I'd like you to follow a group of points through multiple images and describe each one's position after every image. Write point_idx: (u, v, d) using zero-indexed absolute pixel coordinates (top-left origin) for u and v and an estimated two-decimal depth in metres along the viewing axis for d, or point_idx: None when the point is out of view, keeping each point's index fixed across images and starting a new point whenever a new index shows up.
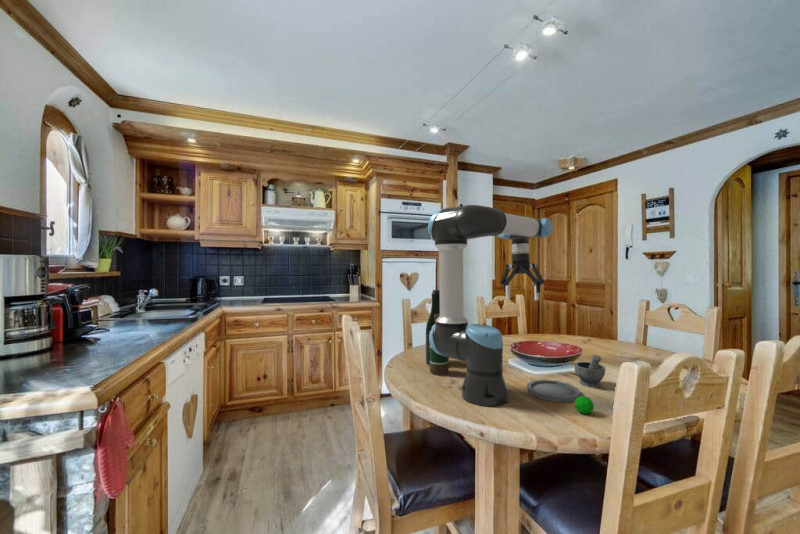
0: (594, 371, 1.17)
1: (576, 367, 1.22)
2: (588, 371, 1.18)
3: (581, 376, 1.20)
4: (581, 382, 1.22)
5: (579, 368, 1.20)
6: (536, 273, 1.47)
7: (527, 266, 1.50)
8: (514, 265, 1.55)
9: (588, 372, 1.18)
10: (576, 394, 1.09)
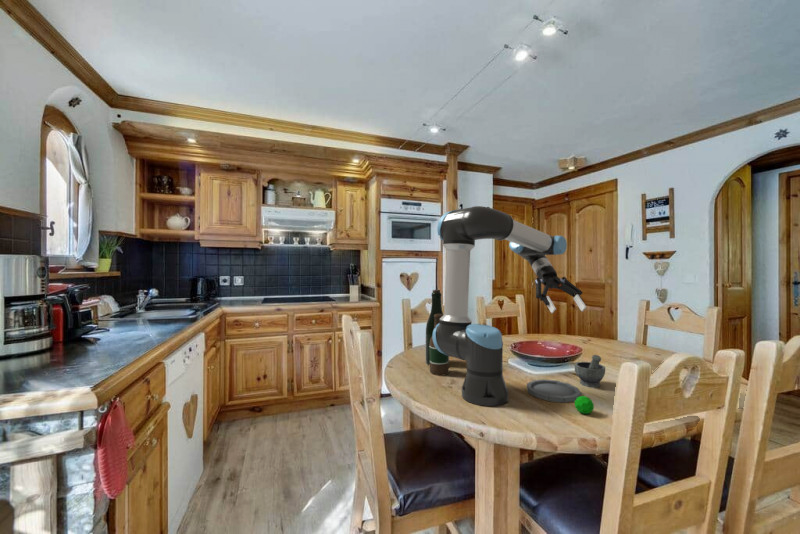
0: (594, 371, 1.17)
1: (576, 367, 1.22)
2: (588, 371, 1.18)
3: (581, 376, 1.20)
4: (581, 382, 1.22)
5: (579, 368, 1.20)
6: (571, 284, 1.40)
7: (559, 279, 1.41)
8: (546, 278, 1.40)
9: (588, 372, 1.18)
10: (576, 394, 1.09)
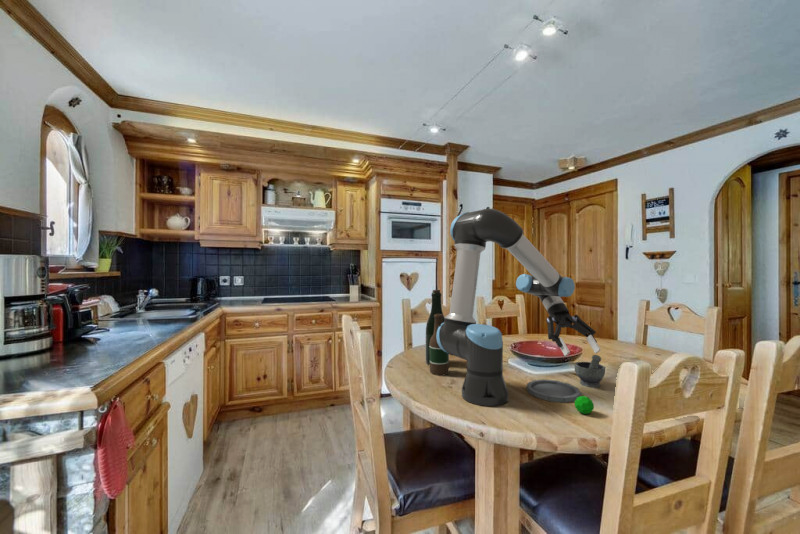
0: (594, 371, 1.17)
1: (576, 367, 1.22)
2: (588, 371, 1.18)
3: (581, 376, 1.20)
4: (581, 382, 1.22)
5: (579, 368, 1.20)
6: (584, 323, 1.35)
7: (571, 317, 1.36)
8: (558, 317, 1.35)
9: (588, 372, 1.18)
10: (576, 394, 1.09)
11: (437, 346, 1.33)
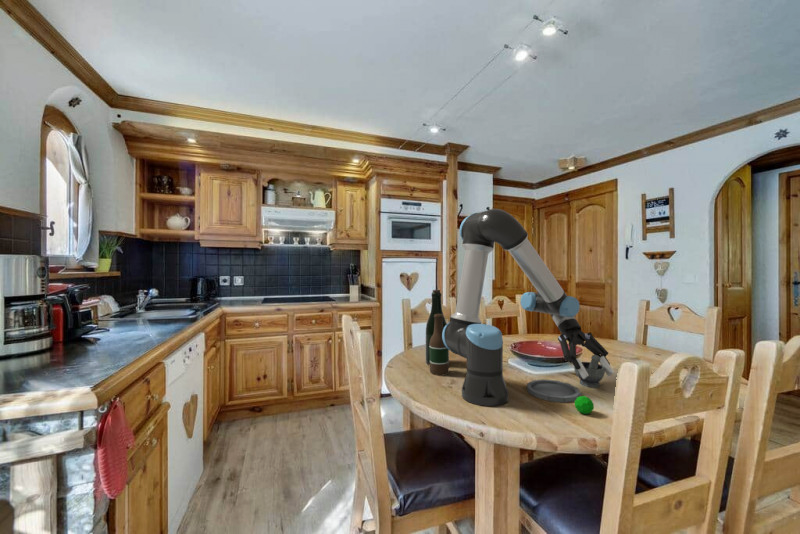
0: (593, 371, 1.17)
1: None
2: (587, 371, 1.18)
3: (580, 376, 1.20)
4: (581, 382, 1.22)
5: None
6: (597, 342, 1.26)
7: (584, 334, 1.28)
8: (569, 333, 1.27)
9: (588, 372, 1.18)
10: (576, 394, 1.09)
11: (437, 346, 1.33)
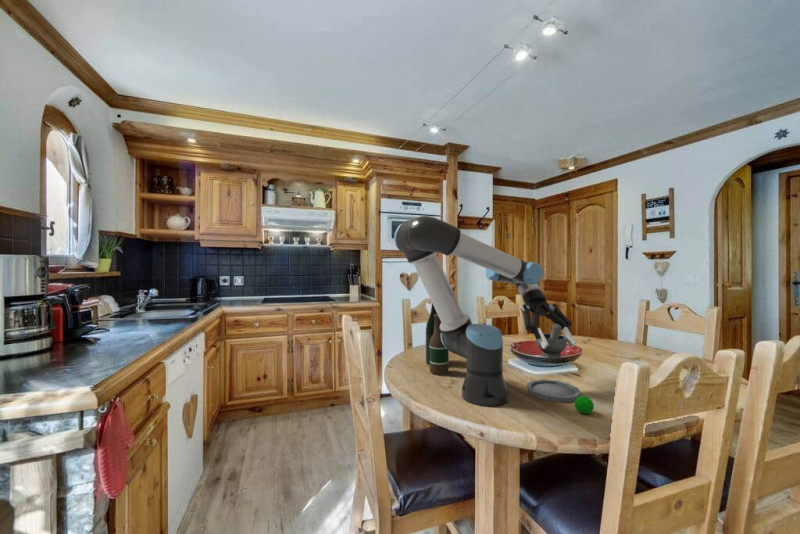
0: (554, 341, 1.11)
1: None
2: (548, 341, 1.12)
3: (541, 346, 1.14)
4: (542, 353, 1.16)
5: None
6: (561, 314, 1.21)
7: (548, 305, 1.23)
8: (533, 304, 1.22)
9: (548, 342, 1.12)
10: (576, 394, 1.09)
11: (437, 346, 1.33)
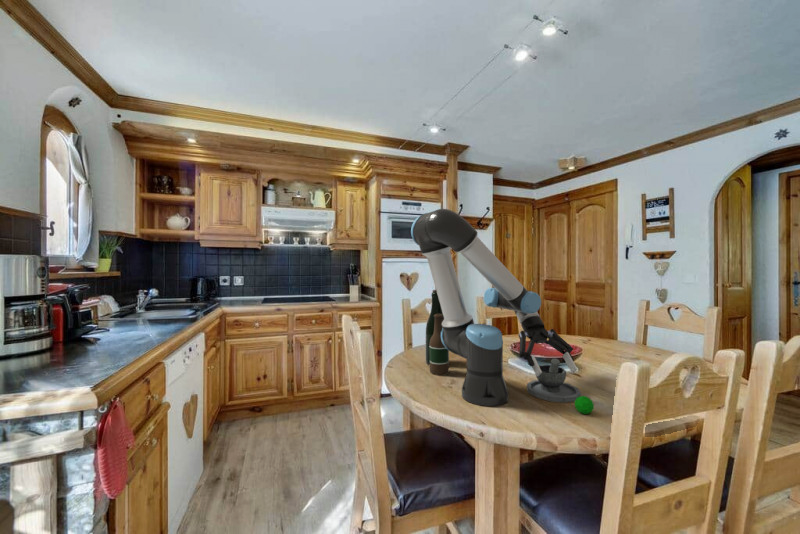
0: (553, 375, 1.11)
1: None
2: (547, 375, 1.12)
3: (540, 380, 1.14)
4: (541, 386, 1.16)
5: None
6: (561, 339, 1.21)
7: (547, 332, 1.23)
8: (531, 331, 1.22)
9: (547, 377, 1.12)
10: (576, 394, 1.09)
11: (437, 346, 1.33)
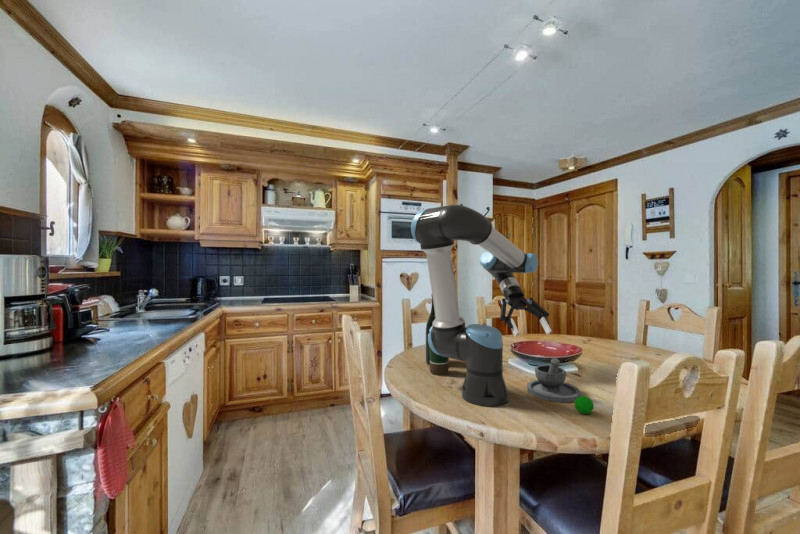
0: (553, 375, 1.11)
1: (536, 371, 1.16)
2: (547, 375, 1.12)
3: (540, 380, 1.14)
4: (541, 387, 1.16)
5: (538, 372, 1.15)
6: (538, 306, 1.34)
7: (526, 300, 1.36)
8: (512, 299, 1.35)
9: (547, 377, 1.12)
10: (576, 394, 1.09)
11: None
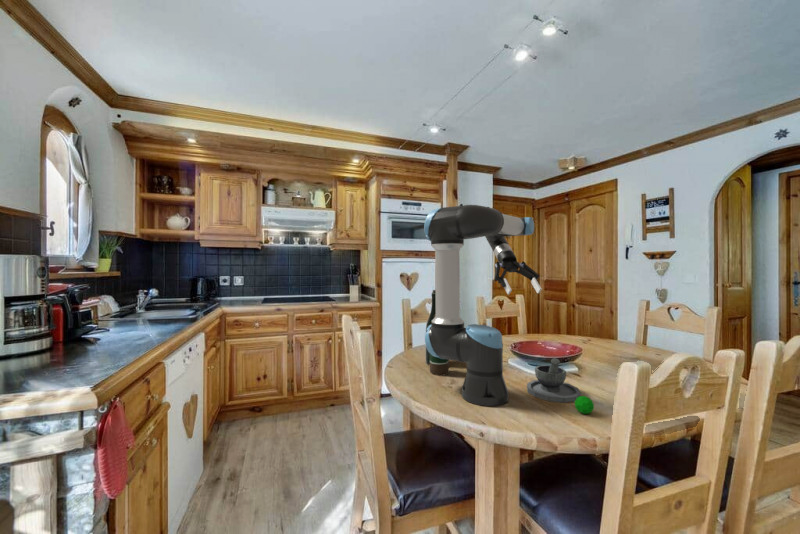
0: (553, 375, 1.11)
1: (536, 371, 1.16)
2: (547, 375, 1.12)
3: (540, 380, 1.14)
4: (541, 387, 1.16)
5: (538, 372, 1.15)
6: (530, 268, 1.45)
7: (518, 263, 1.47)
8: (505, 262, 1.46)
9: (547, 377, 1.12)
10: (576, 394, 1.09)
11: None
